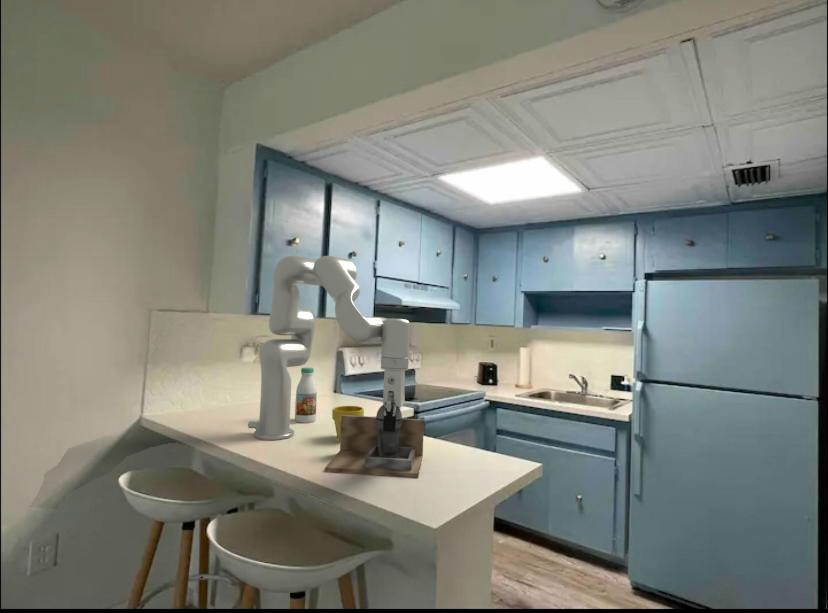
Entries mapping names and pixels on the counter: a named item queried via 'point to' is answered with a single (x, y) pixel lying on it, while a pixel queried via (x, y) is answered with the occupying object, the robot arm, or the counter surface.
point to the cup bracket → (377, 448)
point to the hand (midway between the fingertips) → (391, 426)
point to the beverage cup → (388, 435)
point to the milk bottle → (306, 397)
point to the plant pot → (344, 410)
